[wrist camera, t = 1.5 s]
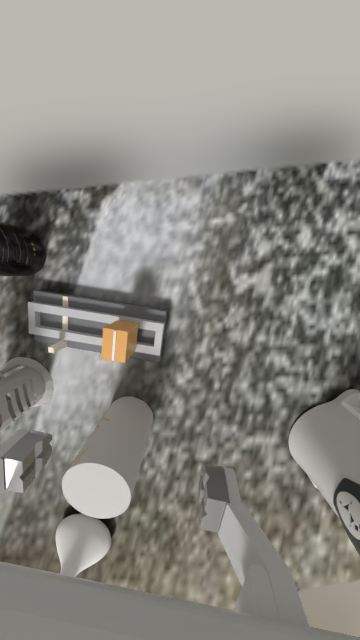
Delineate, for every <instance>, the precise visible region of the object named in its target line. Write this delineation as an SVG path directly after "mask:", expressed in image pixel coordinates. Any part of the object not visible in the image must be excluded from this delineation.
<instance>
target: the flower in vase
mask: <svg viewBox="0 0 360 640" xmlns="http://www.w3.org/2000/svg"><path fill="white" fill-rule="evenodd" d="M56 546H57V550H58V554H59V558H60V562H61V572H60V574H62V575H67V576H72V577H76V575H77V574H78V573H80V572H81V571H82V570H84V569H86V568H88V567H89V566H91V565H93V564H94V563H96V562H98V561H99V560H100V559H101V558H103V557H104V556H105V554H106V553H107V551H108V550H109V548H110V546H111V536H110V532H109V530H108V528H107V527H106V525H105V524H104V523H103V522H102V521H100V520H99V519H97V518H93V517H90V516H87V515H85V514H73V515H70V516H68V517H66V518H65V519H63V520H62V521H61V522H60V523H59V525H58V527H57V531H56Z"/></svg>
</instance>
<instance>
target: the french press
mask: <svg viewBox="0 0 360 640" xmlns="http://www.w3.org/2000/svg"><path fill="white" fill-rule="evenodd" d="M53 390H54V389H53V381H52V378H51V376H50V374H49V373H48V371H47V369H45V368H44V367H43V366H42V365H41V364H40V363H39V362H37V361H35V360H33V359H30V358H27V357H16V358H13V359H11V360H9V361H8V362H7V363H6V364H5V365H4V366H3V368H2V370H1V371H0V432H1V431H2V430H3V429H5V428H6V427H7V426H8V425H10V424H11V423H12V422H13V421H15V420H16V419H17V418H18V417H19V416H21V415H22V414H24V413H25V412H26V411H27V410H29V409H30V408H31V407H37V406H40V405H43V404H45V403H46V402H47V401H48V400H49V399H50V398H51V396H52V393H53ZM30 406H31V407H30ZM28 407H30V408H28ZM22 412H24V413H22ZM21 413H22V414H21ZM15 417H17V418H16V419H14V418H15ZM13 419H14V420H13Z"/></svg>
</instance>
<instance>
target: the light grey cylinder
mask: <svg viewBox="0 0 360 640" xmlns="http://www.w3.org/2000/svg"><path fill="white" fill-rule="evenodd" d="M152 424H153V413H152V411H151V409H150V407H149V406H148V405H147V404H146V403H145V402H144V401H142V400H140V399H138V398H135V397H121V398H119V399H117V400H115V401H114V402H113V403H112V404H111V406H110V407H109V409H108V410H107V412H106V413H105V415H104V416H103V418H102V419H101V421H100V422H99V424H98V425H97V427H96V428H95V430H94V431H93V433H92V434H91V436H90V437H89V439H88V440H87V442H86V443H85V445H84V446H83V448H82V449H81V451H80V452H79V454H78V455H77V457H76V458H75V460H74V461H73V463H72V464H71V466H70V467H69V469H68V470H67V472H66V473H65V475H64V477H63V480H62V490H63V493H64V496H65V498H66V499H67V501H68V502H69V503H70V505H71V506H72V507H74V508H75V509H76V510H77V511H79V512H81V513H83V514H85V515H87V516H90V517H93V518H99V519H107V518H113V517H116V516H118V515H120V514H122V513H123V512H124V511H125V510H126V509H127V507H128V506H129V503H130V500H131V497H132V493H133V490H134V486H135V483H136V479H137V476H138V473H139V469H140V466H141V462H142V459H143V455H144V452H145V448H146V445H147V442H148V438H149V435H150V431H151V428H152Z"/></svg>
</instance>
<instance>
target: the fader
mask: <svg viewBox="0 0 360 640" xmlns="http://www.w3.org/2000/svg"><path fill="white" fill-rule="evenodd" d="M137 332H138V323H133V322H127V321H121V320H117V321H115V322H113V323H111V324H109V325H107V326H105V327H104V328H103V338H102V355H101V359H105V360H111V361H117V362H123V363H125V362H126V361H127V360H128V359H129V357H130V356H131V355H132V354H133V353H134V351H135V350H136V342H137Z"/></svg>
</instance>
